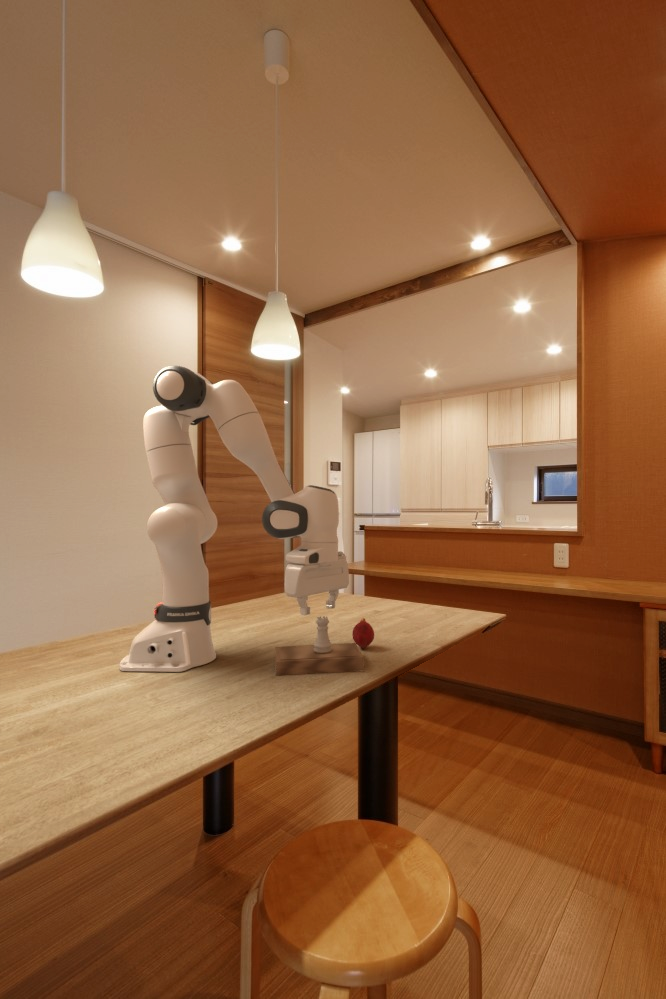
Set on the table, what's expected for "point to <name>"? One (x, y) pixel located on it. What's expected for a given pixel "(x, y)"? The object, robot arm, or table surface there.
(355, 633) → the onion
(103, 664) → the table surface
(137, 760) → the table surface
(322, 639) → the rook chess piece
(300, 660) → the walnut board
